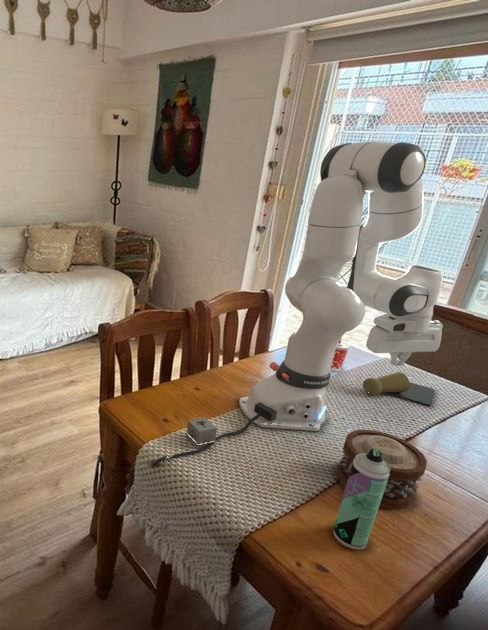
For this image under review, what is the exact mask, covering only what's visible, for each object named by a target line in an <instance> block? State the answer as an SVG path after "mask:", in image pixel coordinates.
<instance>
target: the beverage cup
mask: <svg viewBox="0 0 488 630" xmlns="http://www.w3.org/2000/svg"><path fill="white" fill-rule="evenodd" d="M350 347H351V345H350V344H349V343H347V342H344V341H342V338H341V339H340V341H339V343H338V345H337V347H336V349H335V353H334V357H333V360H332V364H331V368H330V370H331V372H341V371H342V368H343V365H344V362H345V361H346V360H345V359H346V358H347V357H346V356H347V354H348V351H349V350H350Z"/></svg>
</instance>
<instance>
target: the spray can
mask: <svg viewBox="0 0 488 630" xmlns="http://www.w3.org/2000/svg"><path fill="white" fill-rule="evenodd" d="M381 455H382V454H381V452H380V451H378V450H376V449H371V450H370V452H369V453H366V454H364V453H362V454H358V455H356V456H355V459H354V460H353V464H352V467H351V471H350V474H349V478H348V481H347V485H346V488H344V492H343V496H342V499H341V502H340V506H339V509H338V513H337V516H336V519H335V523H334V526H333V531H332V533H333V535H334V538H335V539H336V540H337V541H338V542H339V543H340V544H341V545H343V546H344V547H347V548H349V549H352V550H356V551H359V550H363V549H365V548H366V547H367V544H368V542H369V539H370V536H371V532H372V529H373V526H374V524H375V523H374V522H375V520H376V517H377V514H378V511H379V508H380V507H379V505H380V502H381V499H382V496H383V493H384V490H385V487H386V484H387V481H388V478H389V475H390V466H389V465H388V463H387V462H385V461H384V460H383V459H382V457H381Z"/></svg>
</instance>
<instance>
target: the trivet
mask: <svg viewBox="0 0 488 630" xmlns="http://www.w3.org/2000/svg"><path fill="white" fill-rule="evenodd" d="M409 384H410V386H409V389H408V391H406V392H381V394H385V395H389V396H392V397H396V398H400V399H402V400H406V401H410V402H413V403H416V404H420V405H424V406H426V407H431V404H432V400H433V395H434V391H435V389H434V388H432V387H429V386H425V385H422V384H417V383H414V382H410V381H409Z"/></svg>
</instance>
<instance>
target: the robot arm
mask: <svg viewBox="0 0 488 630" xmlns="http://www.w3.org/2000/svg"><path fill="white" fill-rule="evenodd" d="M426 165H427V159H426V155H425V153H424V151H423V149H422V148H421V146H419V145H416V144H414V143H410V142H404V141H403V142H402V141H401V142H385V141H375V140H373V141H362V142H355V143H354V142H353V143H351V142H346V143H342V144H339V145H336V146H334V147H332V148H330V149H329V150H328V151H327V153H326V154H325V155H324V157H323V159H322V161H321V164H320V169H319V176H320V182H319V183H318V184H317V185H316V188H315V190H314V194H313V196H312V200H311V203H310V208H309V211H308V216H307V217H308V218H307V224H306V232H305V238H304V243H303V250H302V253H301V257H300V260H299V263H298V265H297V268H296V269H295V272H294V273H293V274H292V275H291V276H290V277H288V279H287V281H286V283H285V286H284V292H285V296H286V298H287V299H288V301H289V303H290V304H291V305H292V306H293V308H295V309H296V310H298V311H299V312H300V313H302V321H301V323H300V326H299V328H298V329H297V331H295V332H292V333H291V334H290V336H289V337H288V341H287V346H286V351H285V356H284V360H283V361H282V362H281V364H280V365H279V364H277V363H276V362H275V361H271V362H270V363H269V366H268V367H269V368H270V369H271V370H272V371H273V372H275V373H274V374H271V375H270V376H269V377H267V378H265V379H263V380H261V381H259V382H257V383H256V384H254V385H253V386H252V388H251V389H250V391H249V395H248V396H247V395H246V396H242V397H240V398H239V400H238V406H239V408H240V410H241V411H242V413H243V414H244V415H245V416H246V418H248V419H249V421H248V422H247V423H246V425H245V426H244V427H242V428H241V429H240V430H237V431H233V432H227V433H226V432H225V433H222V434H219V435H217V436H216V438H215V443H216V442H218V441H219V440H220V439H222V438H226V437H230V436H236V435H240V434H242V433H244V432H245V431H246V430H247V429H249V427H250V426H251V425H252V423H254V424H255V425H257V426H259V427H261V428H268V429H281V430H296V431H298V430H299V431H310V432H318V431H320V430H321V425H322V424H323V423H324V422H325V421H326V419H327V418H326V409H327V405H326V402H325V401H326V392H327V387H328V386H329V384H330V381H331V376H332V371H331V370H330V368H331V364H332V360H333V357H334V353H335V349H336V347H337V345H338V343H339V341H340V339H341V340H342V338H343V336H344V335H345V334H346V333H347V332H350V331H353V330H354V329H356V328H357V327H358V326H359V325H360V324H361V323H362V322H363V321H364V318H365V314H366V307H368V308H371V309H373V310H376V311H379V312H382V313H384V314H381V315H379V316H376V317H374V319H373V324H374V325H373V326H372V327H371V328H370V330H369V333H368V336H367V339H366V342H365V343H366V344H365V346H366V348H367V350H369V351H370V352H372V353H374V354H389V355H390V364H391V365H392V366H404V365H405V363H406V361H407V360H408V359H409V358H410V357H411V356H412V354H413V353H432V352H437V350H439V348H440V346H441V342H442V335H443V331H442V330H443V328H444V325H443V323H442V322H440V320H432V319H433V316H434V307H435V305H436V304H437V302H438V301H439V297H440V293H441V290H442V284H443V278H444V277H443V272H442V271H440V270H439V269H436V268H432V267H428V266H424V265H420V264H412V265H410V266H409V267H408V268H407V270H406V272H405V273H404V274H403V275H401V276H399V277H396V278H393V277H391V276H387V275H383V274H381V273H380V272H379V271H378V270H377V268H376V267H377V266H376V265H377V260H378V254H379V250H380V249H379V248H380V246H381V244H384V243H389V242H394V241H397V240H401V239H403V238H405V237H407V236H409V235H411V234H413V233H414V232H415V231H416V230H417V229H418V228H419V227H420V225H421V222H422V220H423V216H424V186H423V178H422V177H423V174H424V172H425V169H426ZM367 193H368V207H367V208H368V212H367V218H366V221H365V222H363V223H362V216H363V208H364V207H363V206H364V197H365V196H366V194H367ZM351 261H352V263H351V269H350V274H349V278H348V280H347V282H346V286H345V285H343V284H342V283H340V281H339V280H340V275H341V272H342V271H343V268H344V267H345V265H346V264H347V263H349V262H351ZM265 422H266V423H268V424H267V425H264V424H261V423H265ZM320 422H321V423H320ZM272 423H276V424H277V425H284V424H285V425H284V426H277V425H271V424H272ZM307 423H308V424H307ZM309 423H311V424H309ZM312 424H313V425H312ZM300 425H302V426H301V427H291V426H300ZM305 425H306V427H314V428H305ZM213 444H214V443H209V444H208V445H207V446H205V447H203V448H199V449H195V450H191V451H184V452H179V453H175V454H172V455H173V456H172V457H170V458H167V459H165V458H166V457H167V456H168V455H164V456H161V457H159V458H157V459H156V460H155V461H154V462H153V463H152V466H153V467H156V466H158V464H159V463H160V462H163V461H164V460H169V459H176V458H179V457H185V456H189V455H195V454H198V453H202V452H205V451H206V450H208V449H210V447H212V446H214V445H213Z"/></svg>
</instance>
